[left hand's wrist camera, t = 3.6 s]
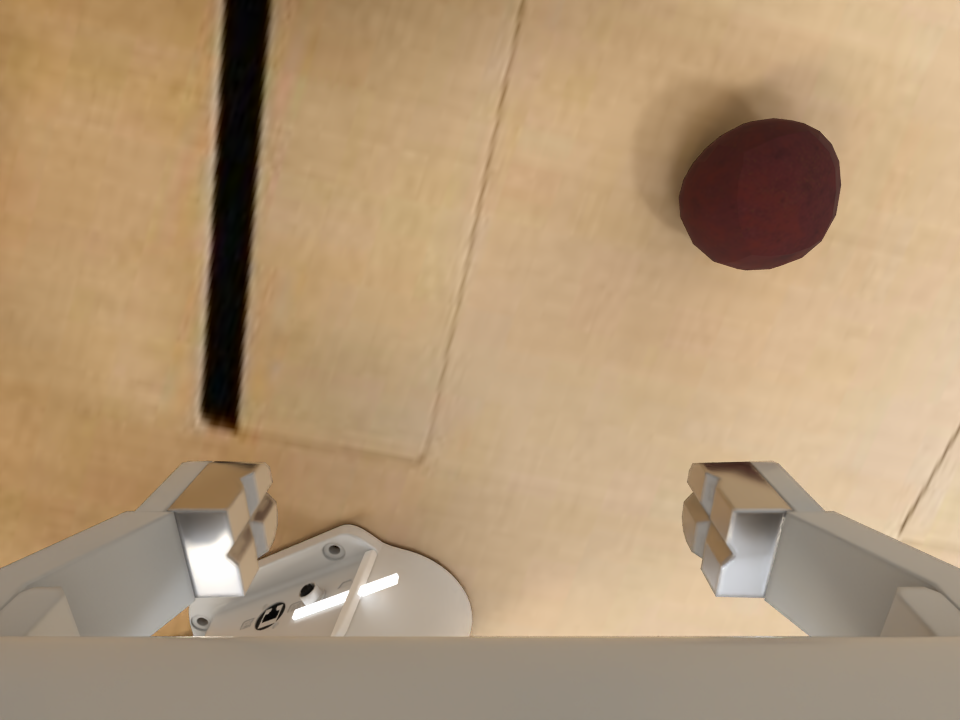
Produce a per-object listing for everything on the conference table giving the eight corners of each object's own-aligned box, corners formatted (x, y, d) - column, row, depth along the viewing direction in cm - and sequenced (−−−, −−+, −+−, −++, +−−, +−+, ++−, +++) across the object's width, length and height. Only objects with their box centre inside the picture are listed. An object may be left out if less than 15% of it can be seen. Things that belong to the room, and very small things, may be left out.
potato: (785, 105, 29) (872, 91, 23) (795, 241, 32) (876, 263, 26) (653, 145, 30) (701, 142, 24) (674, 274, 33) (722, 304, 26)
